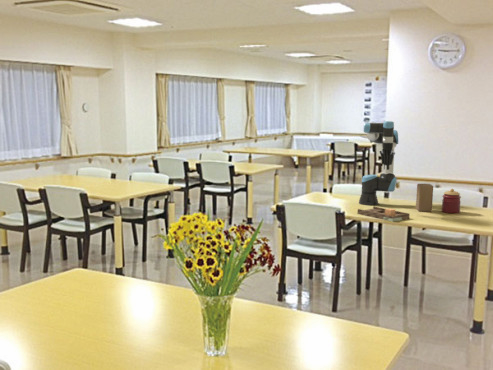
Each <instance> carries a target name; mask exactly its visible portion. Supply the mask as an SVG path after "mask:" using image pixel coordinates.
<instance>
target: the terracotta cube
mask: <svg viewBox="0 0 493 370" xmlns="http://www.w3.org/2000/svg"><path fill="white" fill-rule="evenodd" d="M384 209H385V215H389V216H395V211H396V209H393V208H384Z"/></svg>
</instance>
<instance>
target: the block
mask: <svg viewBox="0 0 493 370" xmlns="http://www.w3.org/2000/svg"><path fill="white" fill-rule="evenodd" d="M433 197H434V185H432V184H431V183H417V185H416V199H415V200H416V201H415V202H416V203H415V209H416V210H417V212H424V213H425V212H432V211H433Z"/></svg>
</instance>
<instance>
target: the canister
mask: <svg viewBox="0 0 493 370" xmlns="http://www.w3.org/2000/svg"><path fill="white" fill-rule="evenodd" d="M461 198H462V197H461V193H460V192H458V191H455V189H454V188H450V189H449V190H446V191H445V192H443V195H442V203H441V212H442V213H445V214H460V213H461V202H462V201H461Z"/></svg>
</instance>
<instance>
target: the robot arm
mask: <svg viewBox="0 0 493 370" xmlns="http://www.w3.org/2000/svg"><path fill="white" fill-rule="evenodd" d="M363 133H364V134H365V133H366V137H367V139H368V140H369V141H370V142H371V143H375V144H379V145H380V144H381V146H382V150H380V151H379V154H380V161H381V164H382V170H381V171H382V172H381V173H380V174H379V176H378V175H377V174H365V175H363V176H362V179H361V195H360V197H359V200H358V204H360V205H363V206H364V205H365V206H376V205H378V204H379V199H378V195H377V192H385V193H386V192H387V193H391V192H395V190H396V185H397V177H396V174H394V161H395V154H396V152H395V148H396V147H397V145H399V133H398V130H396V129H395V121H392V120H387V121H386V120H385V121H383V122H379V123H377V122H365V123H364V124H363Z"/></svg>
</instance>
